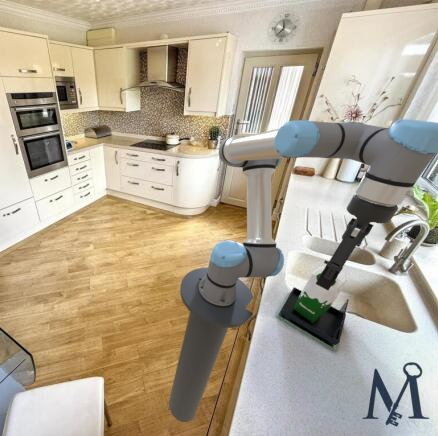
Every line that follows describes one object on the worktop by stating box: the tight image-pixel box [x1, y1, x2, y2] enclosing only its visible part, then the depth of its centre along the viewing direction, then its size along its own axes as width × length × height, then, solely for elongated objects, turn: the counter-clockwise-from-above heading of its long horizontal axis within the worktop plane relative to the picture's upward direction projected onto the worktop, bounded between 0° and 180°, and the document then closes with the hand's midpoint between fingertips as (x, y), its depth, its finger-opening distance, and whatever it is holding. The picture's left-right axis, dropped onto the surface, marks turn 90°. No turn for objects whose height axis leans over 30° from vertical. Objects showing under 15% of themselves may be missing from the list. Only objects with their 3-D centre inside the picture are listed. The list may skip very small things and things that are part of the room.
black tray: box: [276, 286, 349, 352], centre depth 84 cm, size 18×16×11 cm
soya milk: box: [294, 265, 348, 323], centre depth 81 cm, size 9×9×20 cm
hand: (330, 274), depth 60 cm, fingers open, 13 cm apart
